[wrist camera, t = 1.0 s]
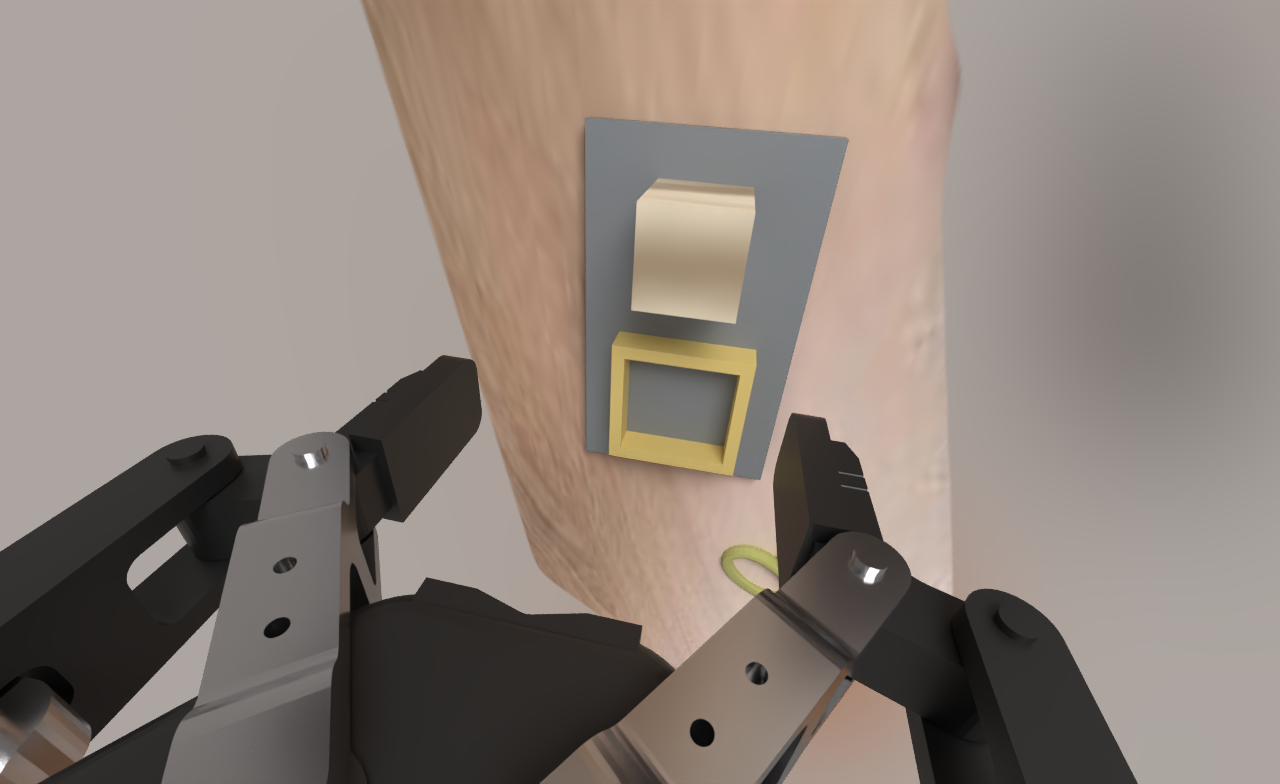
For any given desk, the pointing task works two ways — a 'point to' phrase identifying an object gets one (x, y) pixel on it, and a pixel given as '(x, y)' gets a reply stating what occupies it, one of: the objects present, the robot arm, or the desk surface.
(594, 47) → the desk surface
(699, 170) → the puzzle board
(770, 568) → the key
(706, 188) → the beech block
